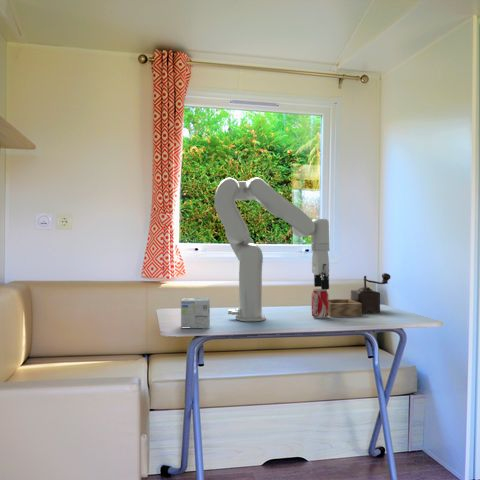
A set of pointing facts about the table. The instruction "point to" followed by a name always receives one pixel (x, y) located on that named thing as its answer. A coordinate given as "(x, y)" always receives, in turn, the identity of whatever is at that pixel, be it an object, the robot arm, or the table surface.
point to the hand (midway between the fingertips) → (321, 287)
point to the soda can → (320, 303)
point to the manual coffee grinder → (369, 296)
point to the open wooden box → (344, 308)
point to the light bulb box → (195, 312)
